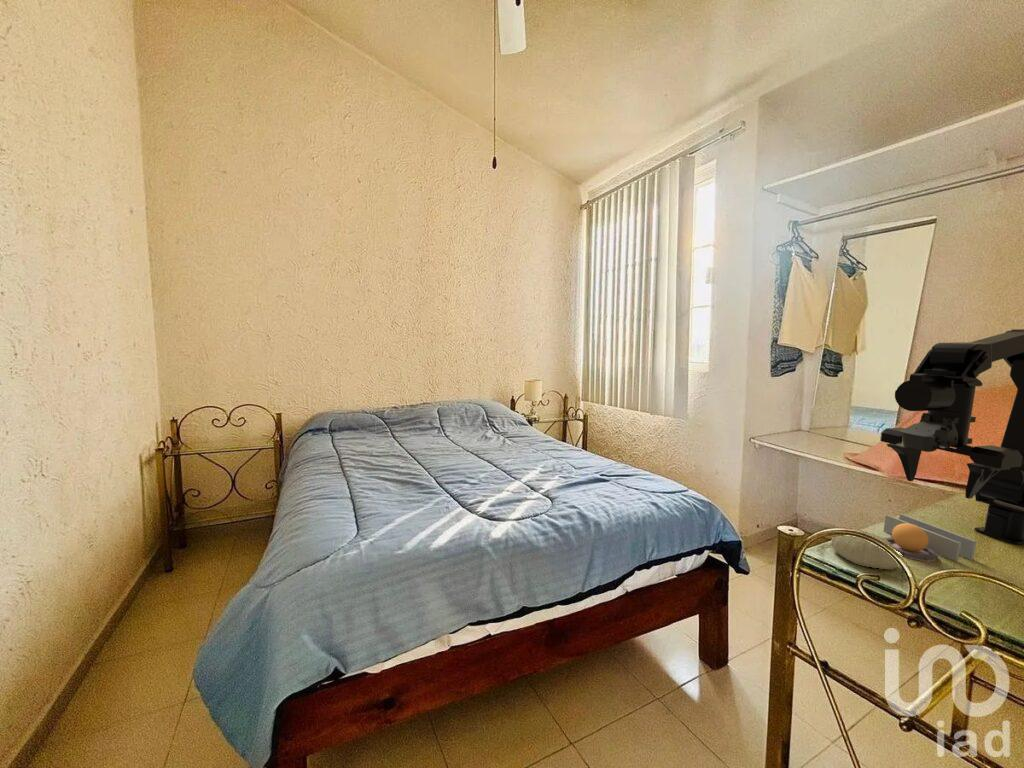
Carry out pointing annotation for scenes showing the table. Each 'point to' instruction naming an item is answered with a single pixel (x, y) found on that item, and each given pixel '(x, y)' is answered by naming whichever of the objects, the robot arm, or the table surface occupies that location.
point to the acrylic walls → (937, 538)
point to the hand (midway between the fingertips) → (937, 489)
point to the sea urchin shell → (864, 551)
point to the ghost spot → (915, 552)
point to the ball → (910, 537)
